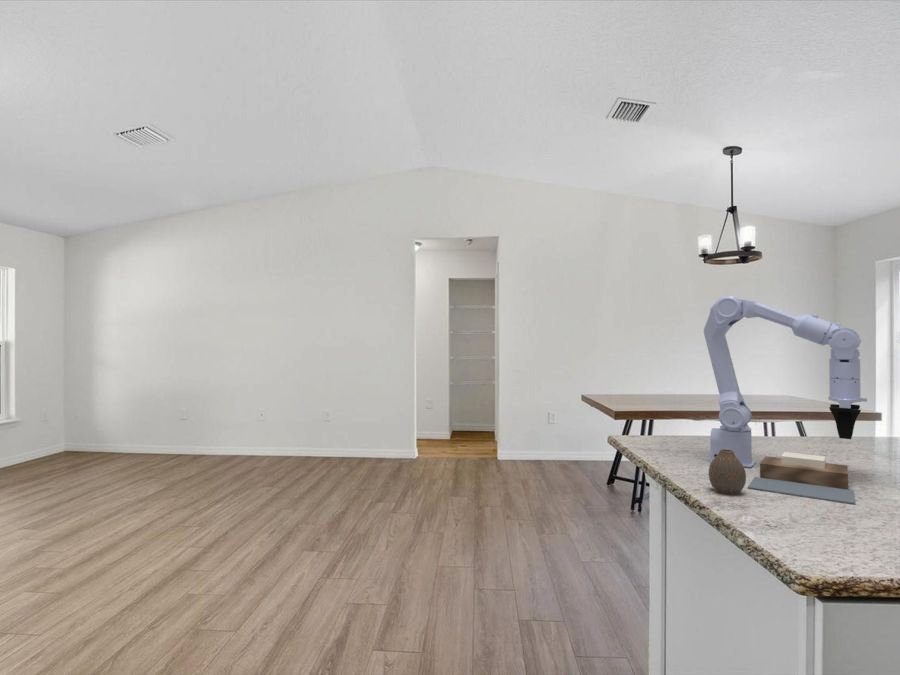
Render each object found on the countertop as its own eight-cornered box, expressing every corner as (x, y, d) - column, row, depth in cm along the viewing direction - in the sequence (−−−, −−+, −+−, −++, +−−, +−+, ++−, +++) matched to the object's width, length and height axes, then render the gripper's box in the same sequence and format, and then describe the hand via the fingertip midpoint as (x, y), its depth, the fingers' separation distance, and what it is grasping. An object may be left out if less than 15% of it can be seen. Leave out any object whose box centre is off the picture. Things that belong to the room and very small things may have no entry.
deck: (760, 478, 115) (759, 463, 115) (765, 470, 123) (765, 456, 123) (848, 490, 105) (847, 474, 105) (847, 480, 113) (847, 465, 113)
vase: (704, 492, 104) (704, 450, 104) (714, 485, 109) (713, 445, 109) (741, 498, 99) (741, 455, 100) (749, 491, 104) (749, 450, 105)
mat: (747, 488, 107) (747, 487, 107) (754, 478, 115) (754, 476, 115) (855, 504, 95) (855, 503, 95) (854, 491, 104) (854, 490, 104)
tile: (781, 463, 115) (781, 456, 115) (783, 459, 119) (783, 451, 119) (824, 469, 110) (824, 460, 110) (825, 464, 114) (825, 456, 114)
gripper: (868, 380, 108) (868, 442, 108) (865, 378, 120) (866, 434, 119) (827, 379, 113) (828, 439, 113) (829, 376, 124) (829, 430, 124)
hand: (845, 436), depth 116 cm, fingers open, 7 cm apart
